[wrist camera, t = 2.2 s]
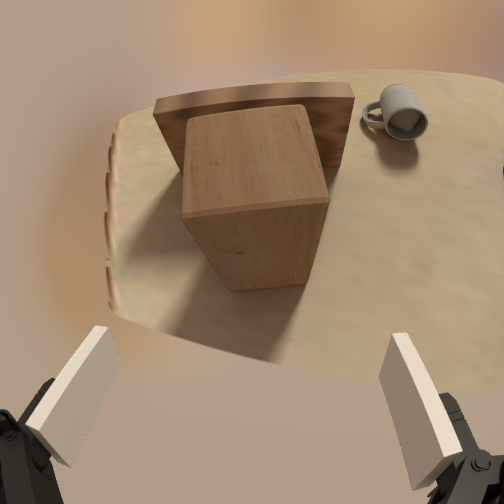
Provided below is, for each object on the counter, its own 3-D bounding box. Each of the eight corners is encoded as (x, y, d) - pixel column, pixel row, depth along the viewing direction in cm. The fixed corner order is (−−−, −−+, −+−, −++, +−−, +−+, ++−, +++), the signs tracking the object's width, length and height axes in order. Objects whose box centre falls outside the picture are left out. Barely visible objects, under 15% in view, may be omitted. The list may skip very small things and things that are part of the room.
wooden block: (229, 292, 38) (178, 220, 19) (225, 222, 42) (185, 116, 23) (308, 284, 37) (332, 202, 19) (297, 213, 41) (304, 101, 22)
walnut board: (336, 151, 44) (348, 82, 31) (339, 166, 43) (354, 97, 30) (185, 162, 46) (157, 99, 33) (183, 177, 45) (152, 114, 32)
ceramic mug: (409, 112, 47) (419, 82, 40) (420, 143, 44) (434, 113, 37) (357, 106, 48) (363, 74, 41) (364, 137, 45) (373, 104, 38)
